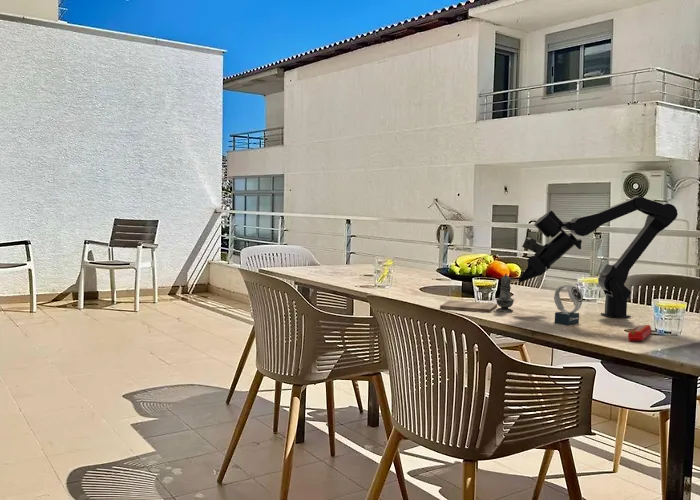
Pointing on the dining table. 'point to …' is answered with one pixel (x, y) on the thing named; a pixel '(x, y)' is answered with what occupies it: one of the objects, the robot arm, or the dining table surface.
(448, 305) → the walnut board
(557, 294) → the watch
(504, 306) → the dark grey tall piece
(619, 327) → the dining table surface
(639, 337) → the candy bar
